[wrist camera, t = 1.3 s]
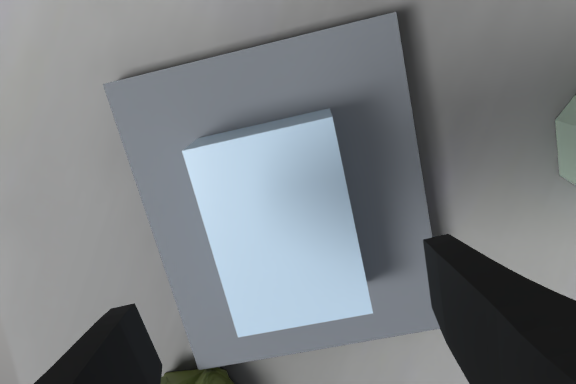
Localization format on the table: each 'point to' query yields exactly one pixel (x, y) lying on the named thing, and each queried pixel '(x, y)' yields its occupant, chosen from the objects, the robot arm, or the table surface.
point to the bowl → (567, 141)
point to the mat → (269, 107)
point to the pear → (197, 377)
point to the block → (280, 223)
